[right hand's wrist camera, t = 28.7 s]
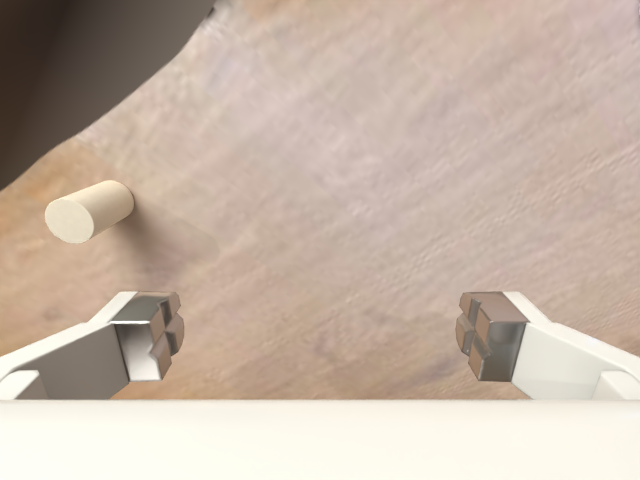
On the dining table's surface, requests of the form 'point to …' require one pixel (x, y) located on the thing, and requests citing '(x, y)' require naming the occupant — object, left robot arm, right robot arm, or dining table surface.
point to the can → (89, 211)
